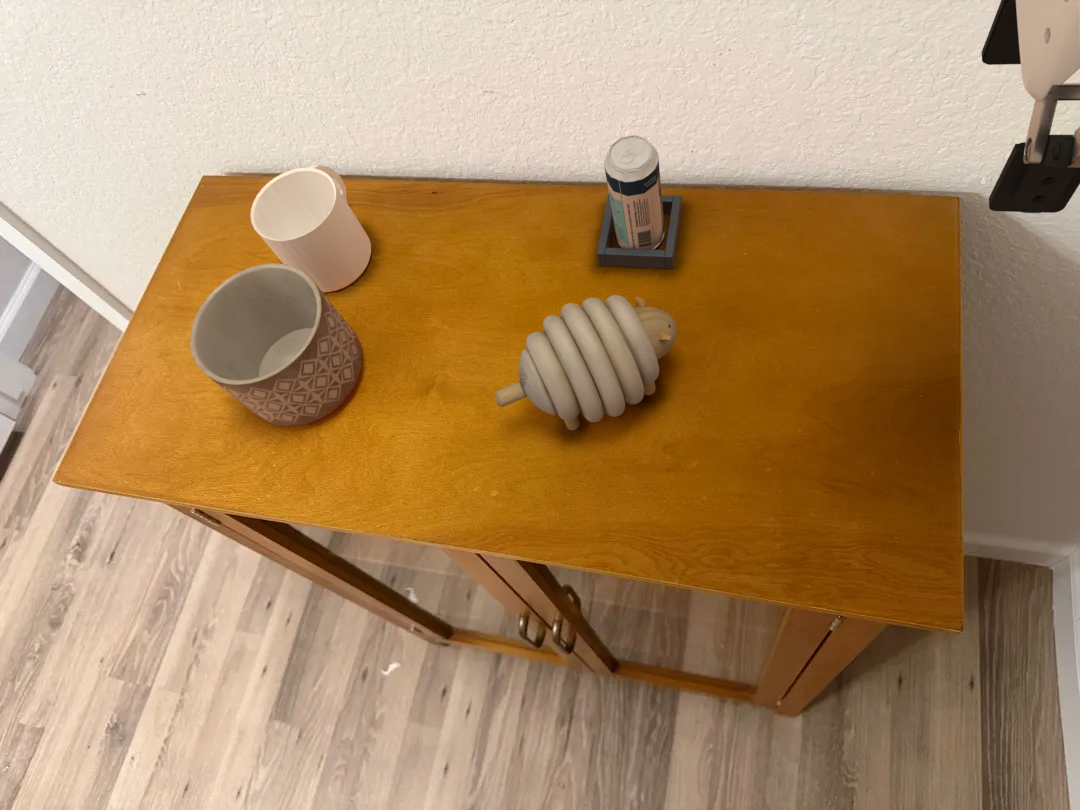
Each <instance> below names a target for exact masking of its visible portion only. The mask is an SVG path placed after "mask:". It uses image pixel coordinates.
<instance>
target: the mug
mask: <svg viewBox="0 0 1080 810" xmlns="http://www.w3.org/2000/svg"><path fill="white" fill-rule="evenodd" d="M347 199H348V198H347V186H346V185H345V183H344V180H343V179H342V176H341V175H339V174H338V172H336V171H335V170H334V169H333V168H331V167H329V166H326V165H320V164H311V165H309V166H307V167H298V168H294V169H289V170H287V171H285V172H283V173H282V172H281V173H280V174H279V175H277V176H275V177H274V178H272V179H271V180H269V181H268V182H267V183H266V184H265V185H264V186H262V188H261V189H260V191H259V192H258V193H257V194H256V196H255V197H254V200H253V202H252V205H251V208H250V216H249V217H250V221H251V225H252V227H253V229H254V231H255V232H256V234H258V236H259V237H260V238H261V239H262V240H263V242H264V243H265V244H266V245H267V246H268V247H269V249H270V250H271V251H272V253H274V255H276V257H277V258H278V259H279V260H280V262H281V264H287V265H291V266H294V267H296V268H299V269H300V270H302V271H304V272H305V273H306V274H307V275H309V276H310V277H311V278H312V280H313V281H314V282H315V283H316V285H317V286H318V287H319V289H320V290H321V291H322V292H323V293H332V292H336V291H339V290H342V289H345V288H346V287H348V286H350V285H351V284H353V283H354V282H356V280H357V279H359V278H360V277H361V276H362V274H363V273H364V271H365V270H366V269H367V267H368V265H369V262H370V260H371V259H370V258H371V255H372V243H371V240H370V238H369V236H368V234H367V232H366V230H365V229H364V228H363V226H362V224H361V223H360V221H359V219H358V218H357V216H356V215H355V213H354V212H353V210H352V208H351V207H350V205H349V204H348V202H347V201H348V200H347Z"/></svg>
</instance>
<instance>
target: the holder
mask: <svg viewBox="0 0 1080 810" xmlns="http://www.w3.org/2000/svg"><path fill="white" fill-rule="evenodd" d="M682 198H683V197H682V195H663V194H662V206H663V215H669V222H668V229H667V235H666V242H665V249H653V250H648V249H624V248H622V247H611V245H612V240H613V234H614V230H615V226H614V220H613V214H612V208H611V202H610V196H609V193H608V194H607V197H606V203H605V204H606V205H605V209H604V213H603V218H602V219H603V220H602V223H601V229H600V235H599V239H598V243H597V244H598V246H597V250H596V257H597V261H598V266H604V267H605V266H606V267H607V266H608V267H624V268H625V267H626V268H645V269H667V270H673V269H674V267H675V259H676V254H677V245H678V241H679V240H678V239H679V231H680V225H681V217H682V211H683V199H682Z"/></svg>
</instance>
